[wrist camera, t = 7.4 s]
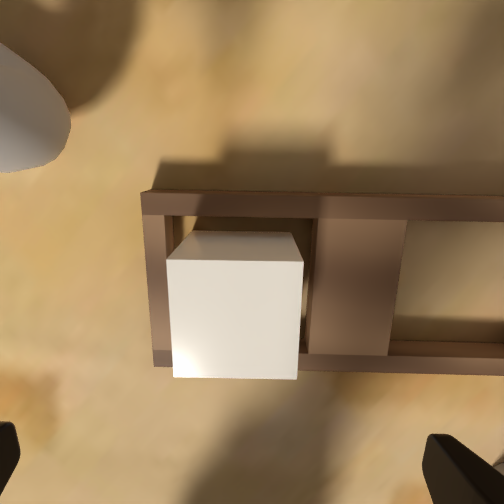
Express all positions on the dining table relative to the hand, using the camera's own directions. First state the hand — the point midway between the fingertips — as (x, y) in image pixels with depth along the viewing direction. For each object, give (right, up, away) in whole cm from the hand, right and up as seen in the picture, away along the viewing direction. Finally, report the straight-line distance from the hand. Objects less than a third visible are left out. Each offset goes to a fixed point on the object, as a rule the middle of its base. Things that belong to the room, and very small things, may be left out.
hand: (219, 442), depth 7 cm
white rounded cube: (0, +3, +10) cm, 11 cm away
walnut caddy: (+6, +3, +10) cm, 12 cm away
